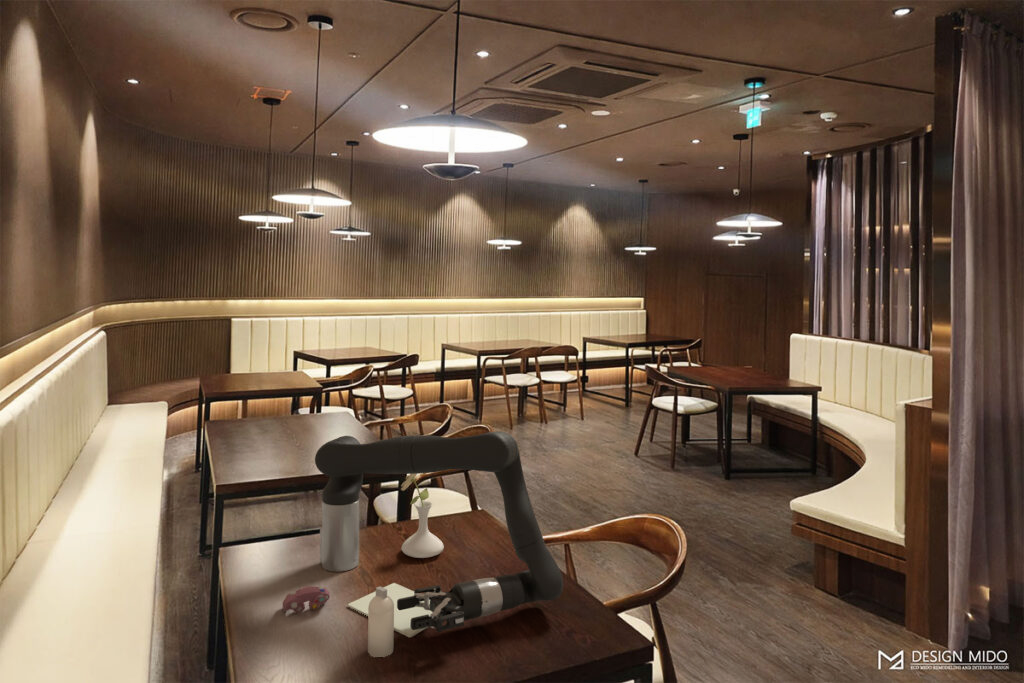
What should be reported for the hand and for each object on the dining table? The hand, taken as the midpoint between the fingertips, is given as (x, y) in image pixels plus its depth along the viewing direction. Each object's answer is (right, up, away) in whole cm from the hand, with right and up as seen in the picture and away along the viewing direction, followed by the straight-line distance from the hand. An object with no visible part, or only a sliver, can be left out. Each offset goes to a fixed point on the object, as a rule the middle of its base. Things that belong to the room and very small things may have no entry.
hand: (404, 614), depth 133 cm
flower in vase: (-3, -3, +45) cm, 45 cm away
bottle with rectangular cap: (-4, -6, -2) cm, 8 cm away
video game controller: (-24, -5, +14) cm, 28 cm away
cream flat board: (-3, -5, +15) cm, 16 cm away
